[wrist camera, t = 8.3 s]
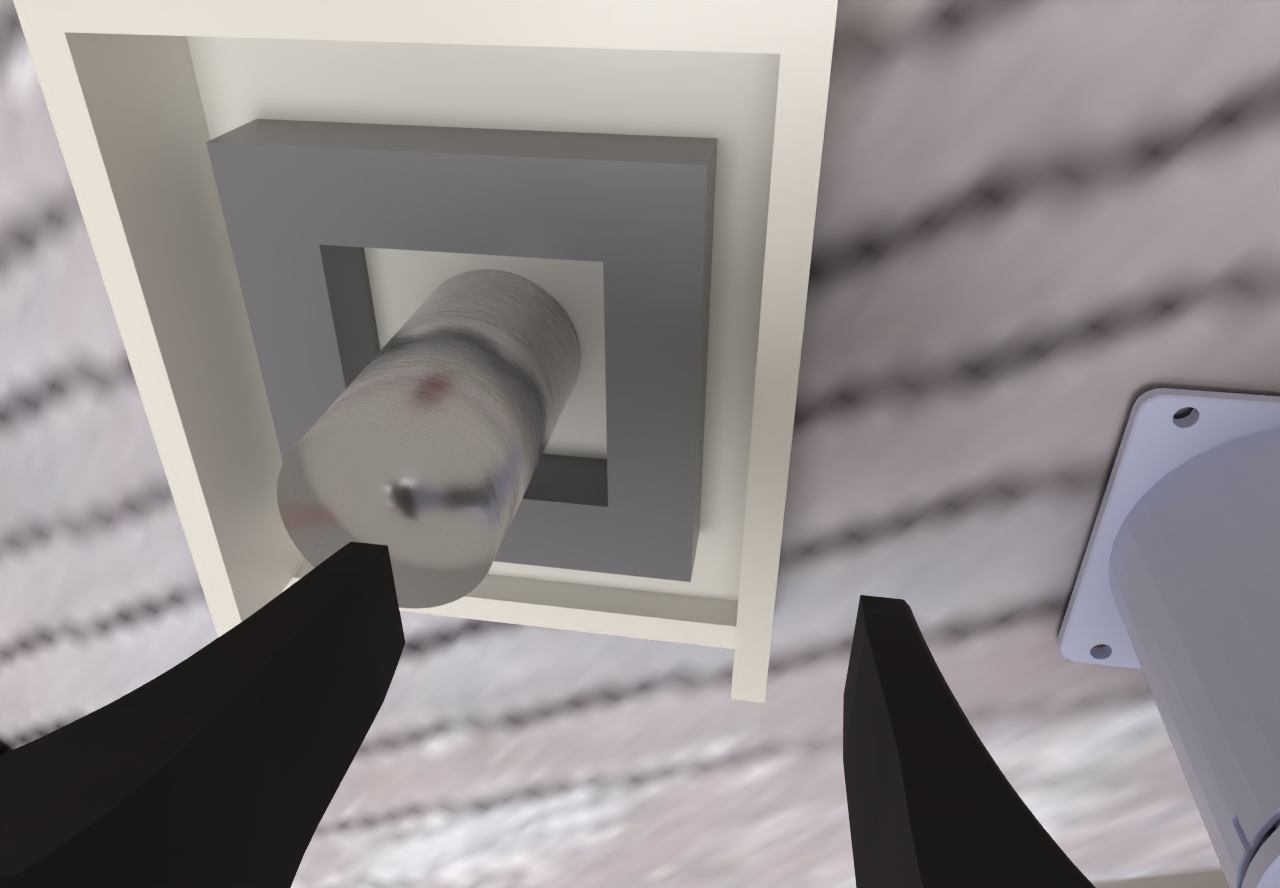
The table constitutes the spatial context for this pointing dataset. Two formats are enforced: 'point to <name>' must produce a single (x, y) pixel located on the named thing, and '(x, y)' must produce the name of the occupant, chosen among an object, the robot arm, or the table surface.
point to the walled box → (467, 265)
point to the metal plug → (437, 436)
